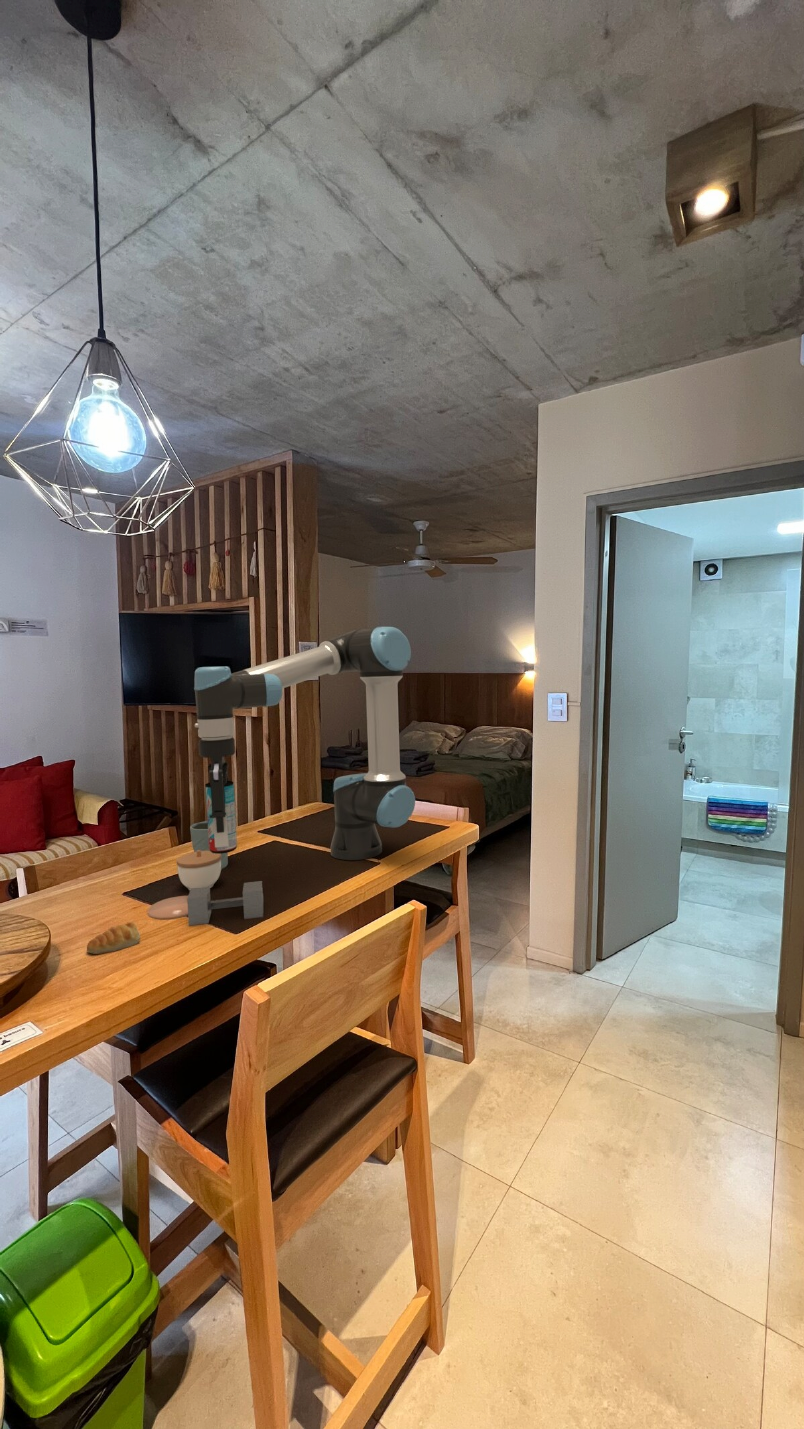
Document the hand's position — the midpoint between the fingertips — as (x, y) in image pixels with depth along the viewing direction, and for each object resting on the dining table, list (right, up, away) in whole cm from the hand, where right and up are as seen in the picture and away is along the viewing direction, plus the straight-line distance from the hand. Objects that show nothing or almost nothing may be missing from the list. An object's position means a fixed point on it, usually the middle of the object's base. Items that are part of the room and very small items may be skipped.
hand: (223, 841), depth 129 cm
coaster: (-13, -17, +6) cm, 22 cm away
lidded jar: (-12, -16, +20) cm, 28 cm away
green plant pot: (-14, -15, +36) cm, 41 cm away
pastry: (-18, -19, -11) cm, 28 cm away
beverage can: (0, -2, 0) cm, 2 cm away
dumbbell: (0, -17, +3) cm, 17 cm away
